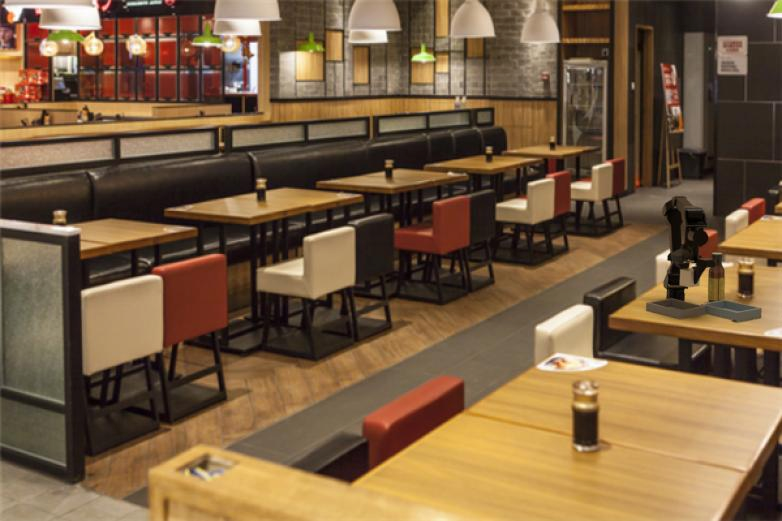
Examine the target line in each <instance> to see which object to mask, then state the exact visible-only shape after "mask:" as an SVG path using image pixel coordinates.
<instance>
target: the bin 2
mask: <svg viewBox="0 0 782 521" xmlns="http://www.w3.org/2000/svg"><path fill="white" fill-rule="evenodd" d="M700 305H702V306H706V313H705V315H706V314H707V315H709V316H715V317H719V318H723V319H727V320H730V321H732V322H733V323H741V322H745V321H751V320H756V319H761V318H762V309H763V308H762V307H758V306H755V305H750V304H746V303H740V302H736V301H732V300H729V299H724V300H721V301H715V302H710V303H709V302H705V303H700Z"/></svg>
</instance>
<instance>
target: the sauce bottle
mask: <svg viewBox="0 0 782 521" xmlns="http://www.w3.org/2000/svg"><path fill="white" fill-rule="evenodd" d="M710 257H711V259H714V260H715V267H710V268H708V278H707V279H708V280H707V299H708V300H707V303H710V302H715V301H721V300H726V299H725V296H726V295H725V294H726V290H725V289H726V275H725V274H726V273H725V272H726V271H725V267H724V266H723V263H722V261H723V253H722V252H712V253H711V256H710Z"/></svg>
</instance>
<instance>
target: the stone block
mask: <svg viewBox="0 0 782 521" xmlns="http://www.w3.org/2000/svg"><path fill="white" fill-rule="evenodd" d="M700 281H701V279H699V281H698V282H697V284H694V270H693V268H692V267H689V268H686V269H680V285H681V286H686V287H688V288H693V287H694V288H695V287H700V283H701V282H700Z"/></svg>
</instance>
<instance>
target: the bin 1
mask: <svg viewBox="0 0 782 521" xmlns="http://www.w3.org/2000/svg"><path fill="white" fill-rule="evenodd" d="M645 311H646V312H650V313H655V314H658V315H662V316H664V317H670V318H674V319H678V320H683V319H688V318H689V319H690V318H694V317H699V316H704V315H706V306H702V305H701V304H697V303H693V302H689V301H681V300H677V299H672V298H670V299H665V298H664V299H660V300H653V301H649V302H648V301H647V302H646V303H645Z"/></svg>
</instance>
